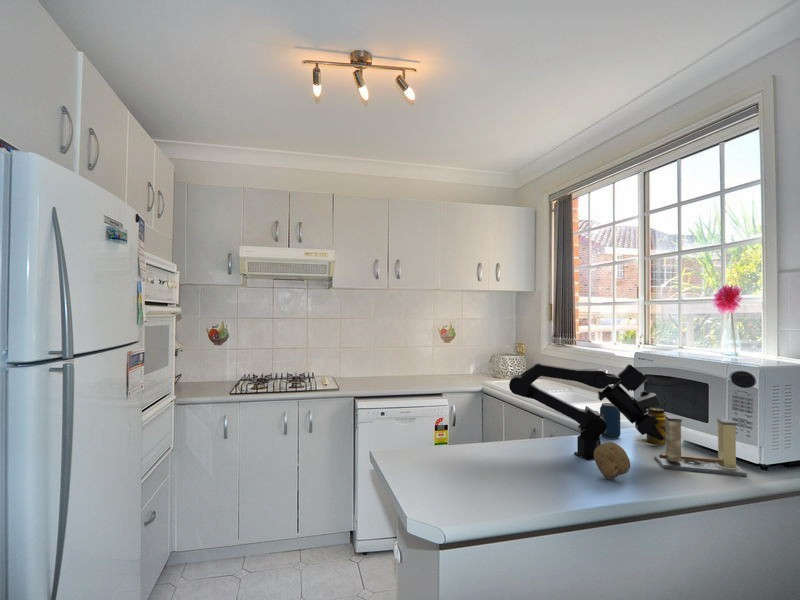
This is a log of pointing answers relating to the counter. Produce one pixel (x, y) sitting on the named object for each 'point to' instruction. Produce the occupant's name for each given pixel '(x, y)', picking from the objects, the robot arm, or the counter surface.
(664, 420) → the condiment
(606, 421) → the soda can
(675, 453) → the post
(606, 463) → the natural sponge
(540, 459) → the counter surface
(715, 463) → the wooden post stand
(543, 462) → the counter surface
